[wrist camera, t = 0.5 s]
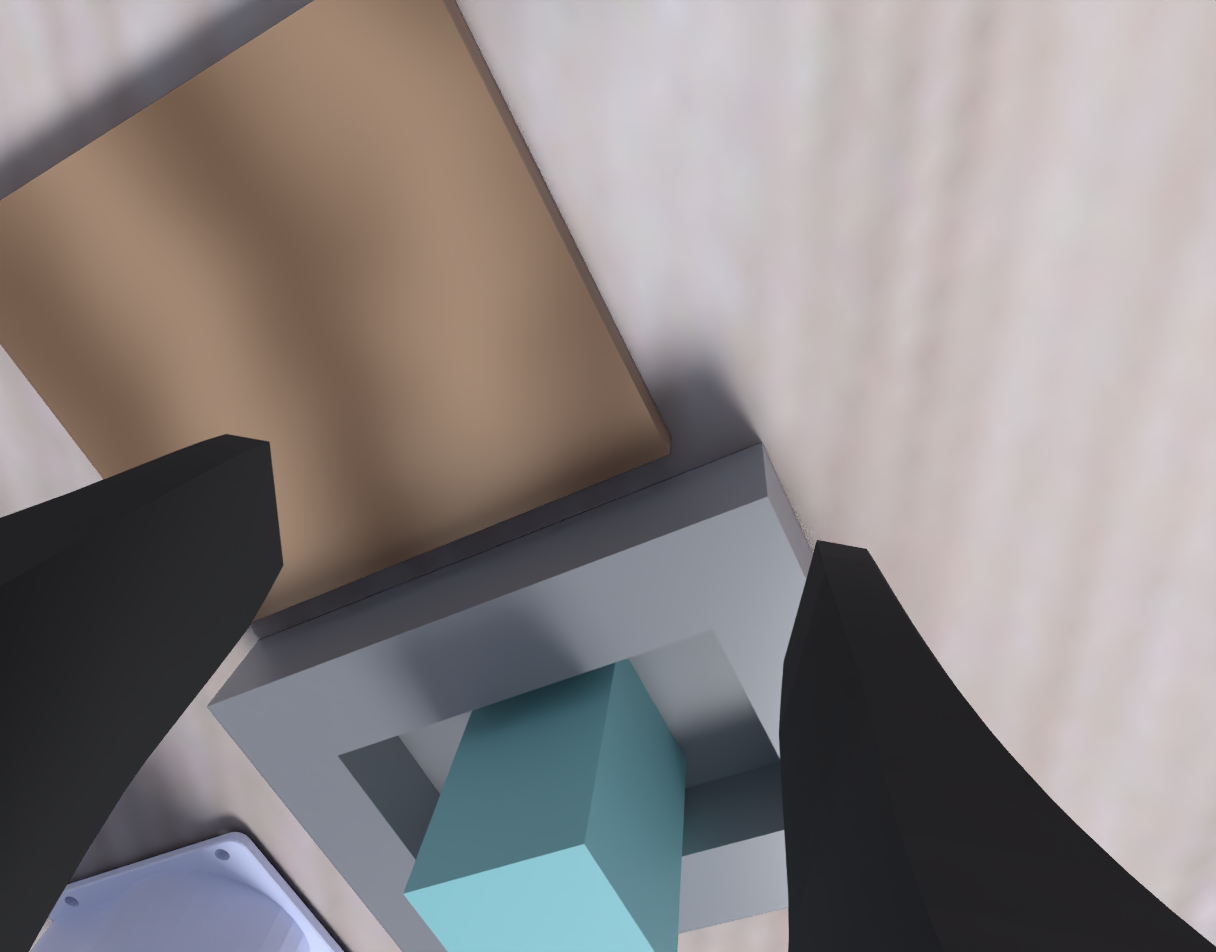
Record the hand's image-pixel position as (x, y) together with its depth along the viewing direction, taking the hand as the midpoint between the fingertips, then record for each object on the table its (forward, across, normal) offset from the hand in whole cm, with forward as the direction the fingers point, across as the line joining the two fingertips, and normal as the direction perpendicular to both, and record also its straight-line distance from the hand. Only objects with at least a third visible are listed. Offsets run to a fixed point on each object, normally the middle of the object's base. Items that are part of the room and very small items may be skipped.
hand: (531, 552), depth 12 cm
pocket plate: (+10, 0, +13) cm, 16 cm away
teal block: (+9, 0, +13) cm, 16 cm away
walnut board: (+10, +8, +2) cm, 13 cm away
